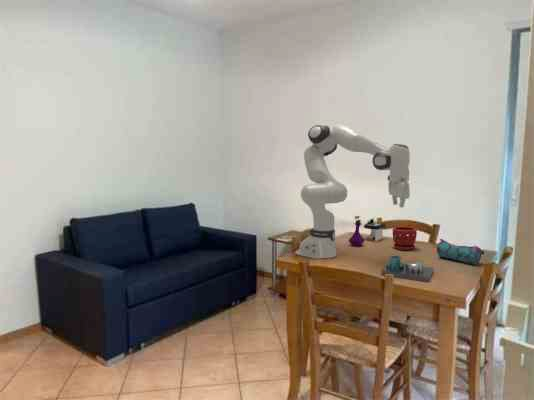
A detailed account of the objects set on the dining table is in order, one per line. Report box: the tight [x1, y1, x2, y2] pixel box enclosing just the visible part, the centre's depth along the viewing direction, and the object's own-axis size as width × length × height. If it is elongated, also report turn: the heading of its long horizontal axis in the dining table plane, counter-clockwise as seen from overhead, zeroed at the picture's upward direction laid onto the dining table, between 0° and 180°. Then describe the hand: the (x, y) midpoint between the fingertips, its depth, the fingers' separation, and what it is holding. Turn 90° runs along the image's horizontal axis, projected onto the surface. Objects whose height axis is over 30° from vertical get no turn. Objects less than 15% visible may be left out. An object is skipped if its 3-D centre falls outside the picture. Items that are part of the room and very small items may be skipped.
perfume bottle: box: [348, 215, 365, 247], centre depth 234 cm, size 8×8×18 cm
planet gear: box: [385, 255, 405, 270], centre depth 183 cm, size 8×8×5 cm
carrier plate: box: [380, 261, 434, 283], centre depth 181 cm, size 20×16×6 cm
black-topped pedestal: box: [363, 218, 386, 242], centre depth 250 cm, size 28×26×13 cm
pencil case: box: [436, 238, 485, 266], centre depth 201 cm, size 21×9×10 cm, turn 39°
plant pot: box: [392, 226, 418, 251], centre depth 227 cm, size 13×13×12 cm
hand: (398, 205), depth 193 cm, fingers open, 8 cm apart
